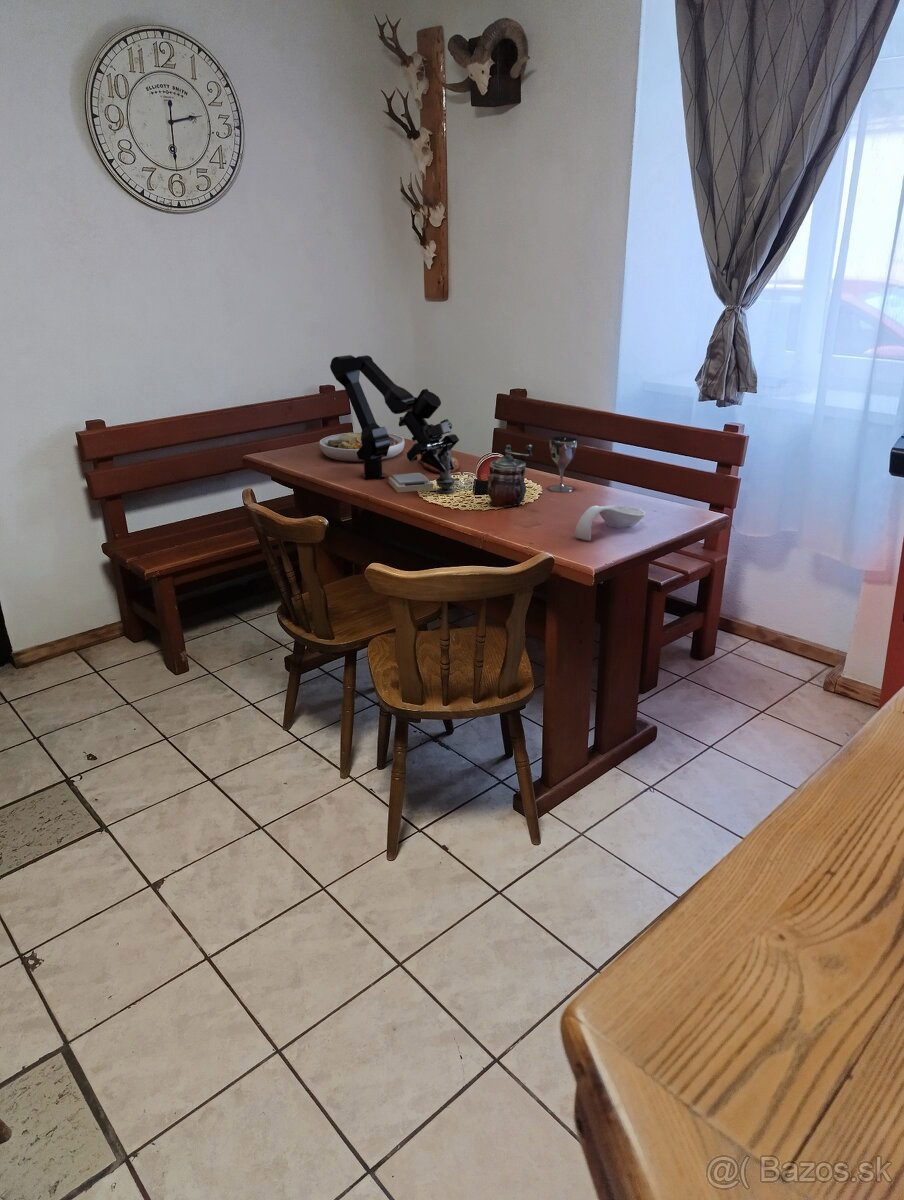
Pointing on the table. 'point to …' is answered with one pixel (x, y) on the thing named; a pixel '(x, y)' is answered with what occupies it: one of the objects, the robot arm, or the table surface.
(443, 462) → the grey carved figurine
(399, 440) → the bowl
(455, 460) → the bread slice
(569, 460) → the wine glass
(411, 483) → the scale
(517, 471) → the coffee grinder
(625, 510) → the spoon rest
